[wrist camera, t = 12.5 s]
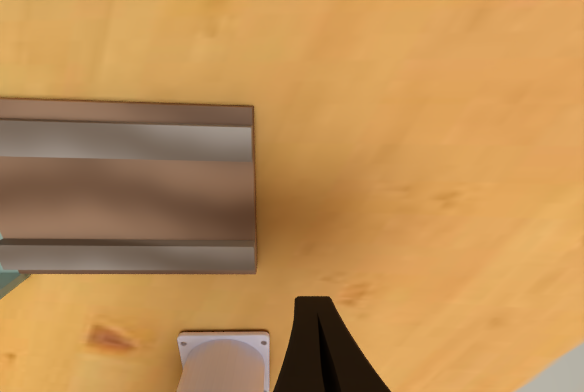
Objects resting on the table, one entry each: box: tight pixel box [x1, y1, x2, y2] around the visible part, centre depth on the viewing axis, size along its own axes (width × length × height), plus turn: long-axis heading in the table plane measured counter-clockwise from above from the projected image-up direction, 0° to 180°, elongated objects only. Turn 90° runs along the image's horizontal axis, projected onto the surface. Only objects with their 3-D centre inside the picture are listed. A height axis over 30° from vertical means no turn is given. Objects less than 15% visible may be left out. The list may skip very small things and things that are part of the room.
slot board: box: [0, 98, 257, 274], centre depth 17 cm, size 12×17×2 cm
